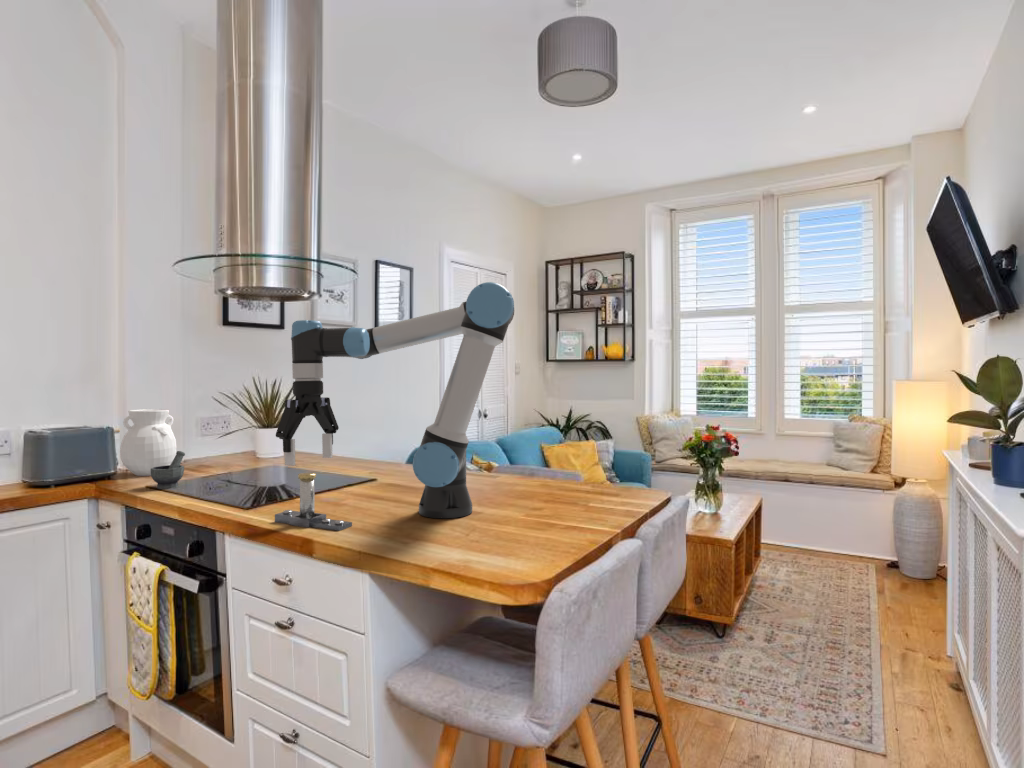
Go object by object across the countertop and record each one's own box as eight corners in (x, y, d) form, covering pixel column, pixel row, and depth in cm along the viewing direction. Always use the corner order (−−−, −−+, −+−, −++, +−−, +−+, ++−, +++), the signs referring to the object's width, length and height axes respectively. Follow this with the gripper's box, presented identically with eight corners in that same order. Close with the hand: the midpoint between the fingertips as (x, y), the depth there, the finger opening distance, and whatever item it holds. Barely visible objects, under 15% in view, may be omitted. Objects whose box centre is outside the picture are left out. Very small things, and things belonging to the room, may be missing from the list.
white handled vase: (164, 468, 233) (163, 407, 232) (185, 473, 222) (185, 409, 221) (111, 474, 217) (111, 410, 217) (132, 480, 207) (131, 412, 206)
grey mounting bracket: (353, 525, 146) (353, 515, 146) (337, 531, 140) (337, 521, 140) (290, 517, 154) (290, 507, 154) (272, 522, 148) (272, 512, 148)
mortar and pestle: (163, 491, 188) (163, 455, 188) (144, 488, 191) (144, 453, 191) (193, 484, 198) (193, 450, 198) (174, 483, 202) (174, 449, 201)
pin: (319, 522, 149) (319, 473, 149) (307, 526, 145) (307, 475, 145) (306, 520, 151) (306, 471, 150) (294, 524, 147) (294, 474, 146)
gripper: (329, 379, 160) (330, 454, 160) (258, 380, 137) (260, 467, 137) (350, 379, 157) (352, 455, 158) (282, 380, 134) (284, 469, 135)
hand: (309, 461), depth 147 cm, fingers open, 13 cm apart
